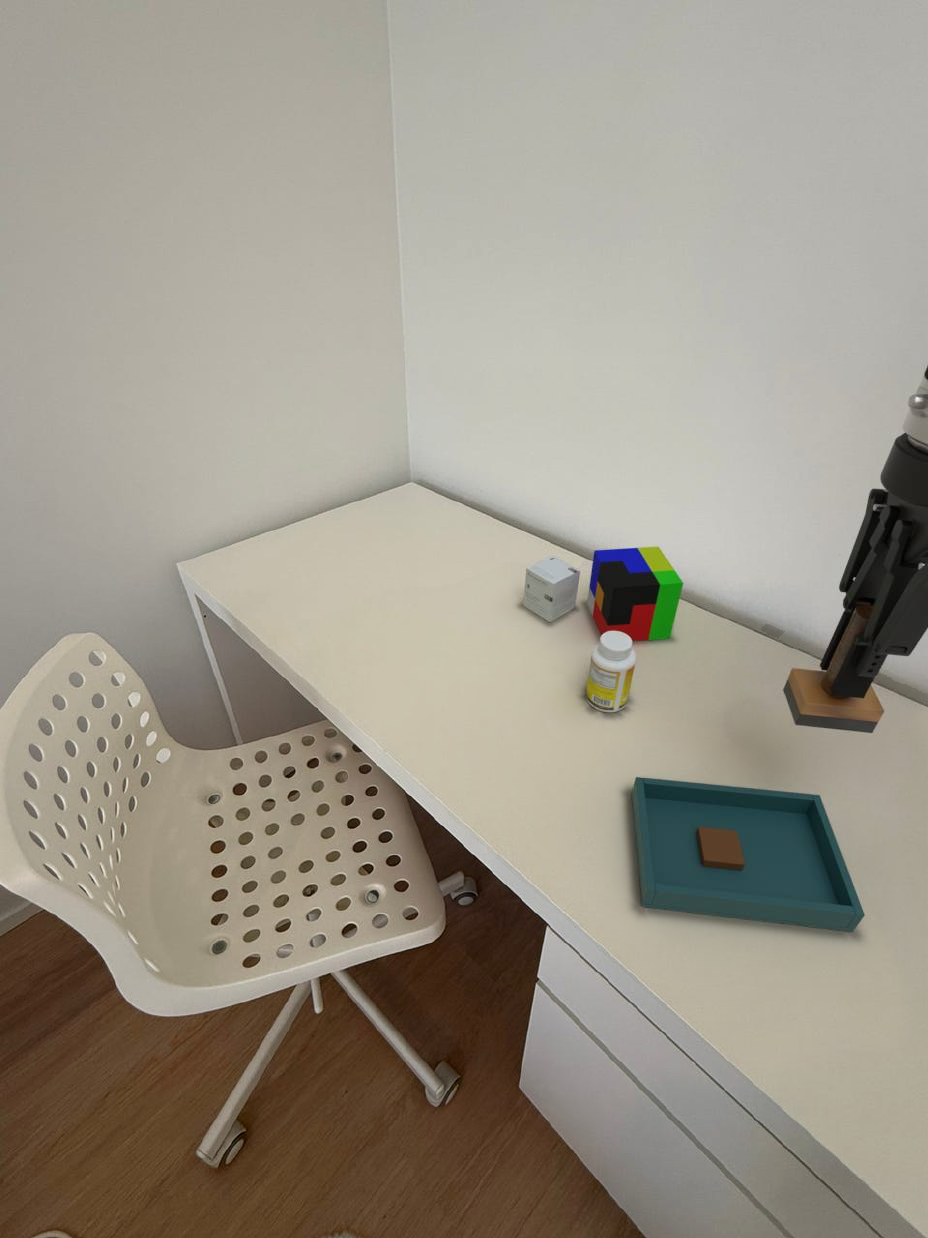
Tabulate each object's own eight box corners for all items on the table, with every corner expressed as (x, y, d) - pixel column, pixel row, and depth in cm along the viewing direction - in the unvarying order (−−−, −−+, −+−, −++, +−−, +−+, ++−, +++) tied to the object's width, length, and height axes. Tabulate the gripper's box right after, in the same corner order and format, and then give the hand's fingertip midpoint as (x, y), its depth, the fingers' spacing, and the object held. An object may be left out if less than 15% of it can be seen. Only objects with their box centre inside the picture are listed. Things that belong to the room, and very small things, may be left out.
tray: (810, 812, 72) (819, 794, 70) (852, 932, 61) (865, 915, 59) (631, 794, 74) (635, 776, 72) (642, 907, 63) (647, 890, 61)
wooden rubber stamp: (855, 697, 65) (904, 600, 58) (872, 733, 61) (927, 634, 54) (782, 689, 66) (822, 593, 59) (795, 725, 62) (839, 626, 55)
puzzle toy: (586, 604, 104) (594, 550, 98) (647, 599, 104) (658, 546, 98) (604, 643, 96) (613, 587, 90) (669, 638, 96) (683, 582, 90)
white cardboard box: (522, 606, 103) (524, 567, 99) (548, 592, 106) (552, 553, 102) (550, 623, 99) (554, 584, 95) (576, 608, 103) (581, 569, 98)
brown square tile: (734, 837, 69) (737, 830, 68) (742, 871, 66) (745, 864, 65) (695, 833, 69) (698, 826, 68) (701, 866, 66) (704, 860, 65)
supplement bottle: (618, 683, 89) (629, 624, 83) (633, 711, 84) (646, 651, 78) (579, 687, 88) (587, 628, 82) (592, 717, 84) (602, 657, 77)
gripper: (864, 404, 54) (779, 626, 68) (949, 487, 41) (823, 738, 56) (961, 409, 53) (855, 633, 67) (1078, 495, 40) (917, 749, 55)
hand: (841, 680), depth 61 cm, fingers closed on wooden rubber stamp, 3 cm apart
